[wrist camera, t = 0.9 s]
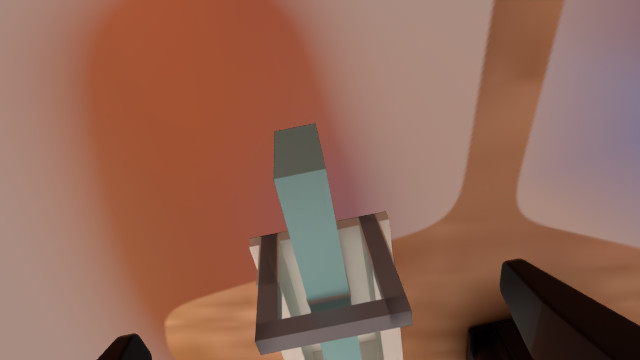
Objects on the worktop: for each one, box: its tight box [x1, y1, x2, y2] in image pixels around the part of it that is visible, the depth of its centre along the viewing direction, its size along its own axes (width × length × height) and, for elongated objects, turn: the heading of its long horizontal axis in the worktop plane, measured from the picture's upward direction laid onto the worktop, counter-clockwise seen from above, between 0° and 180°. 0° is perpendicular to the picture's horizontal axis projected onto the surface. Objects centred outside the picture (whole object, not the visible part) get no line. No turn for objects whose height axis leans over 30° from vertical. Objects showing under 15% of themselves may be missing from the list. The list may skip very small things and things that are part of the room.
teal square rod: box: [274, 124, 362, 360], centre depth 20 cm, size 16×2×4 cm, turn 10°
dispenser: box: [249, 211, 412, 360], centre depth 22 cm, size 12×8×7 cm
